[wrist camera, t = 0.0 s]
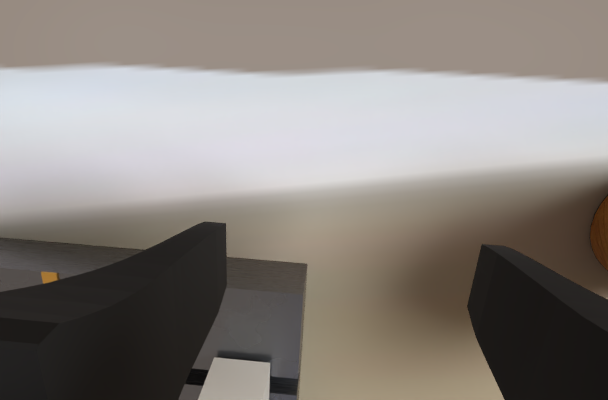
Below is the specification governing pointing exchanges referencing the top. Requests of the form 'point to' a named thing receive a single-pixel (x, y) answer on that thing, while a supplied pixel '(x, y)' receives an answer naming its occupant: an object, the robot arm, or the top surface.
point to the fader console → (231, 317)
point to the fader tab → (236, 380)
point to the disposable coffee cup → (600, 234)
